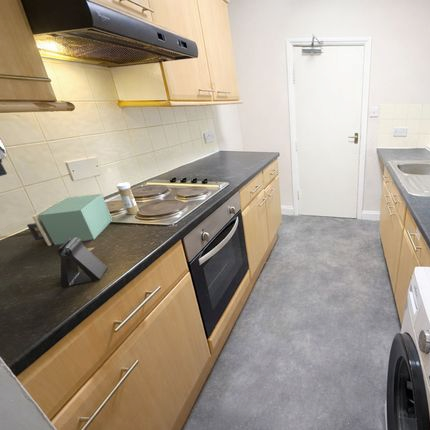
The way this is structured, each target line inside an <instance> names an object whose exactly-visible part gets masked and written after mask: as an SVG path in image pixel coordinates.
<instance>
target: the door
mask: <svg viewBox="0 0 430 430" xmlns="http://www.w3.org/2000/svg"><path fill="white" fill-rule="evenodd" d="M65 198H66V197H64V198H61V199H60V200H57V201H56V202H54V203H53V204H51V205H49V206H47V207H45V208H44V209H42V210H40V211H39V212H37V213H35V214H33V215H32V216H31V218H32V219H33V221H34V222H33V223H27V224H26V226H27V228H28V229H29V232H30V234H31V236H32V237H33V238H34V240H35V241H41V240H44V241H45V243H46V245H47V246H52V245H54V243H53V241H52V239H51V237H50V235H49V234H48V232H47V230H46V228H45V226H44V224H43V223H42V221H41V219H40V217H39V215H40V214H41V213H43V212H44V211H46V210H48V209H49V208H51V207H52V206H54V205H55V204H57V203H59V202H60V201H62V200H63V199H65ZM36 228H37V229H38V231H39V232H40V233H41V235H39V234H38V232H37V230H36Z"/></svg>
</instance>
